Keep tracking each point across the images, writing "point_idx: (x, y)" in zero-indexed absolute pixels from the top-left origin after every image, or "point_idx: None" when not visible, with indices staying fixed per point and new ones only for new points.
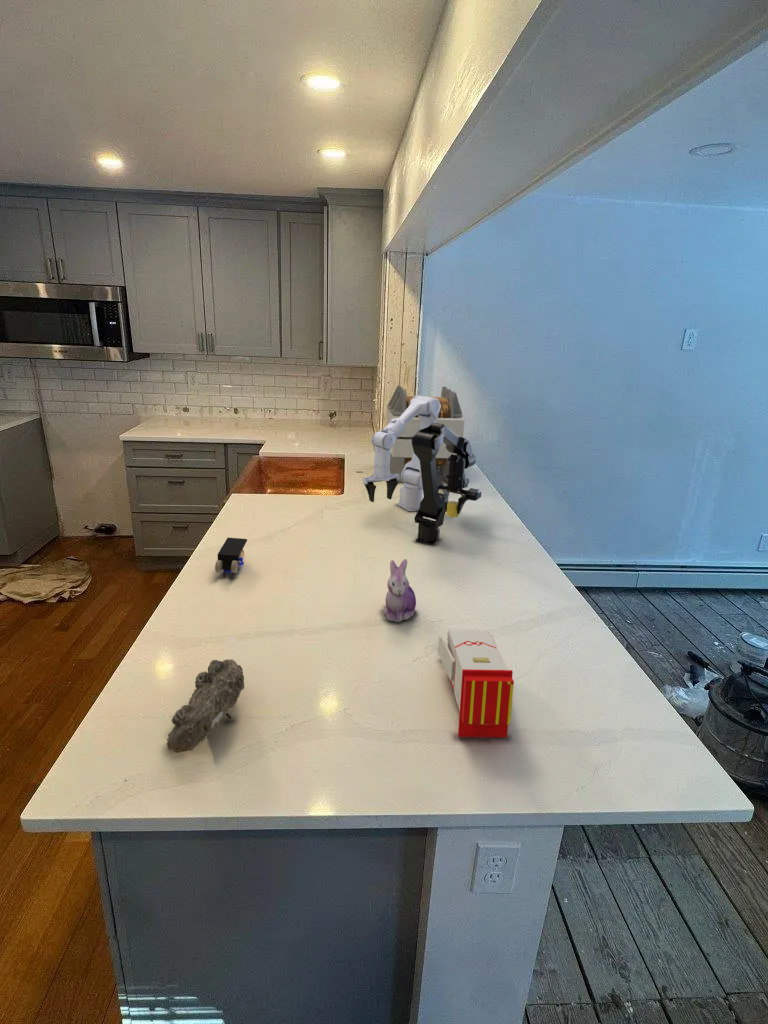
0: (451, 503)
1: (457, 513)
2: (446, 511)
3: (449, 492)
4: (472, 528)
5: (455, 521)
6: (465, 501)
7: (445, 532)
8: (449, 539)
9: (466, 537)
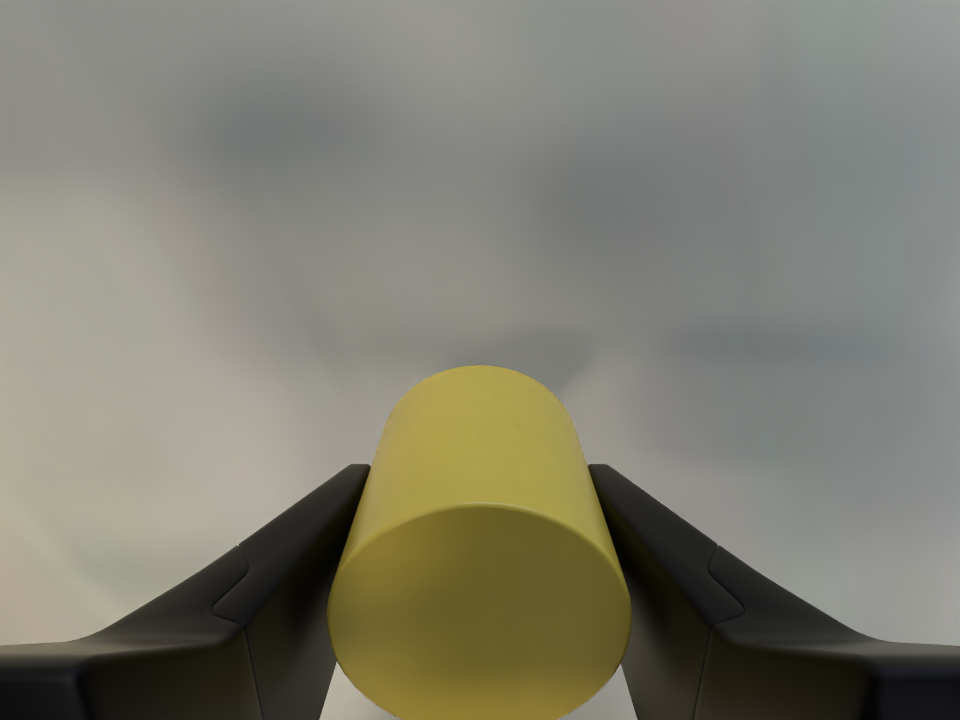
0: (455, 679)
1: None
2: None
3: (115, 673)
4: (753, 316)
5: (462, 200)
6: (833, 629)
7: None
8: (606, 697)
9: None
